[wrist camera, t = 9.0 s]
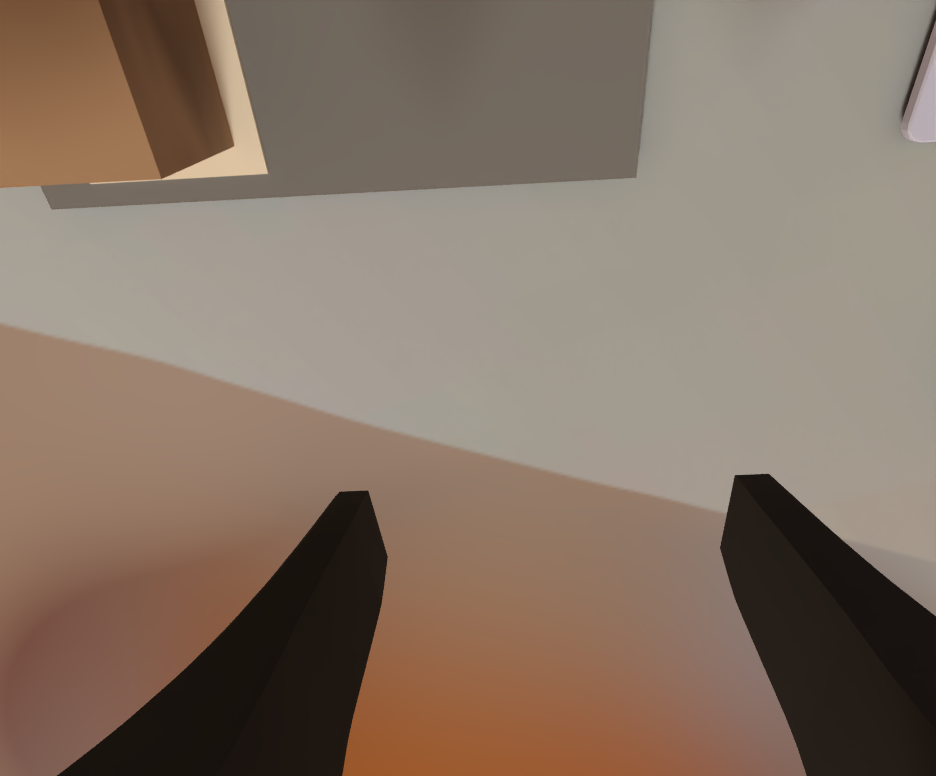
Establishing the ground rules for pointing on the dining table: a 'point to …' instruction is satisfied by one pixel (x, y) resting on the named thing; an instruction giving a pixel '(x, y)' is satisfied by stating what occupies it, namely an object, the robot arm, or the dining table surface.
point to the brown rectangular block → (105, 91)
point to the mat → (409, 98)
